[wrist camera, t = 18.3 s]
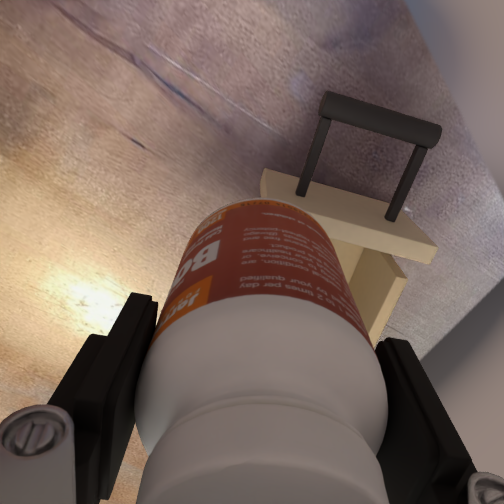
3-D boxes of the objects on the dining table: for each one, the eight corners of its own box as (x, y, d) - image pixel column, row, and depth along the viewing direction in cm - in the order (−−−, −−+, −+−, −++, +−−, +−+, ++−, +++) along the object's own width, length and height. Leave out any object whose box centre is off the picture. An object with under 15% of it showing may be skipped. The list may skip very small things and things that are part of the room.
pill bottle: (202, 174, 16) (104, 380, 6) (356, 215, 16) (517, 468, 6) (172, 309, 18) (67, 618, 8) (306, 340, 19) (363, 663, 9)
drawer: (290, 78, 28) (303, 83, 20) (434, 122, 29) (493, 142, 22) (222, 309, 35) (214, 371, 28) (337, 337, 36) (358, 404, 29)
